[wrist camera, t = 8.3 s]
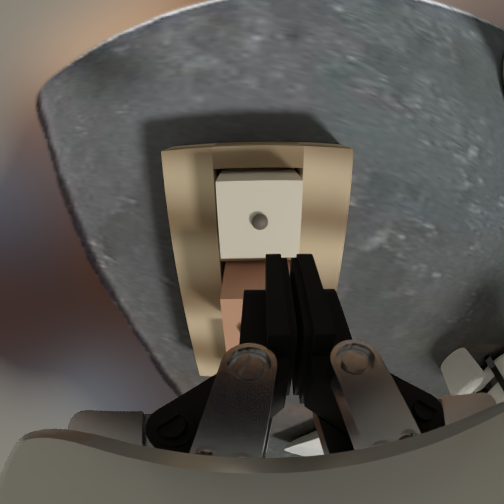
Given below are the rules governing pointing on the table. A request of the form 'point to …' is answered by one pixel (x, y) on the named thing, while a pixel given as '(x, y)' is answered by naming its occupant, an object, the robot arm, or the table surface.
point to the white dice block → (259, 212)
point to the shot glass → (462, 372)
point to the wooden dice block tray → (207, 233)
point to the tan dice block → (239, 294)
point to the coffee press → (493, 379)
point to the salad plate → (306, 445)
